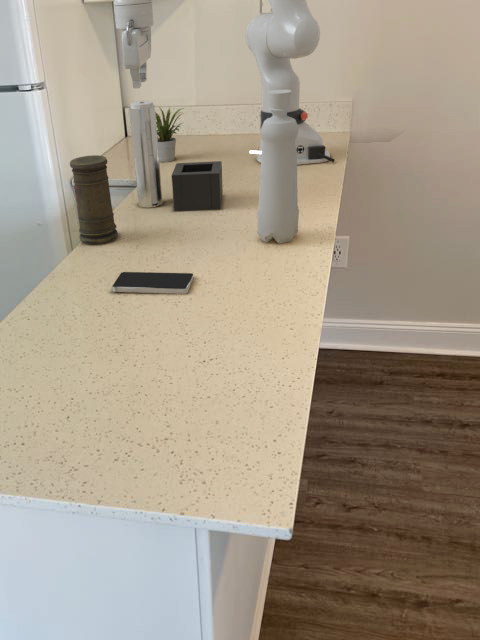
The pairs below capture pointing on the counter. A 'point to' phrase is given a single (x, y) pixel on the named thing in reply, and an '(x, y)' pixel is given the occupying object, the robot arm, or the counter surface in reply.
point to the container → (93, 200)
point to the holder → (197, 186)
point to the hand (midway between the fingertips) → (140, 84)
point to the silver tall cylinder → (146, 153)
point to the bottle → (278, 172)
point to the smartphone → (153, 282)
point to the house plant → (166, 136)
